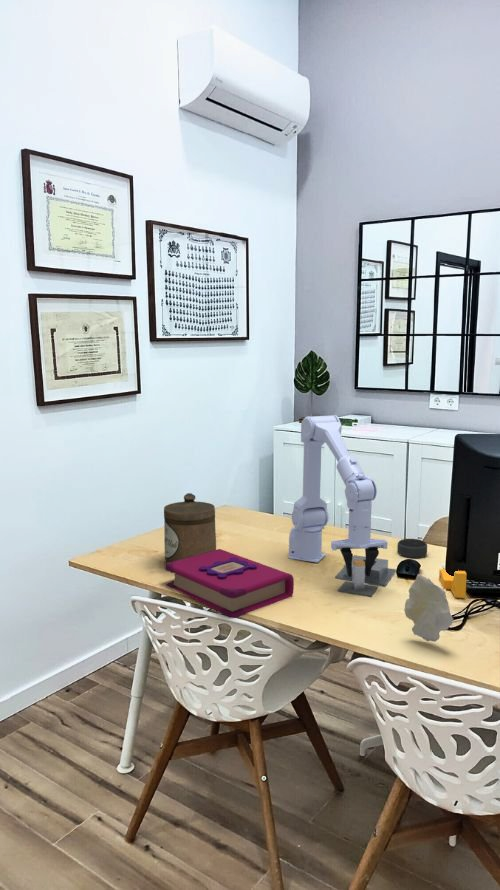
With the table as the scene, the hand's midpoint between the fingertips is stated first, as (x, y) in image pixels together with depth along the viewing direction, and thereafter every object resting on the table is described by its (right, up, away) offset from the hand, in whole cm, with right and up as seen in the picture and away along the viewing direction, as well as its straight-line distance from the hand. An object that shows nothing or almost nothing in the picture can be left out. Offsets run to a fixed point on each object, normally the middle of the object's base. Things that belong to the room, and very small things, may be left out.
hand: (358, 575), depth 171 cm
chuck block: (+4, -2, +11) cm, 12 cm away
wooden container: (-46, -2, +17) cm, 49 cm away
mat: (0, -4, +1) cm, 4 cm away
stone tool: (+10, -9, -29) cm, 32 cm away
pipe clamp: (+25, -4, +2) cm, 26 cm away
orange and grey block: (0, -4, +1) cm, 4 cm away
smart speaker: (+21, 0, +29) cm, 36 cm away
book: (-34, -5, -1) cm, 35 cm away
